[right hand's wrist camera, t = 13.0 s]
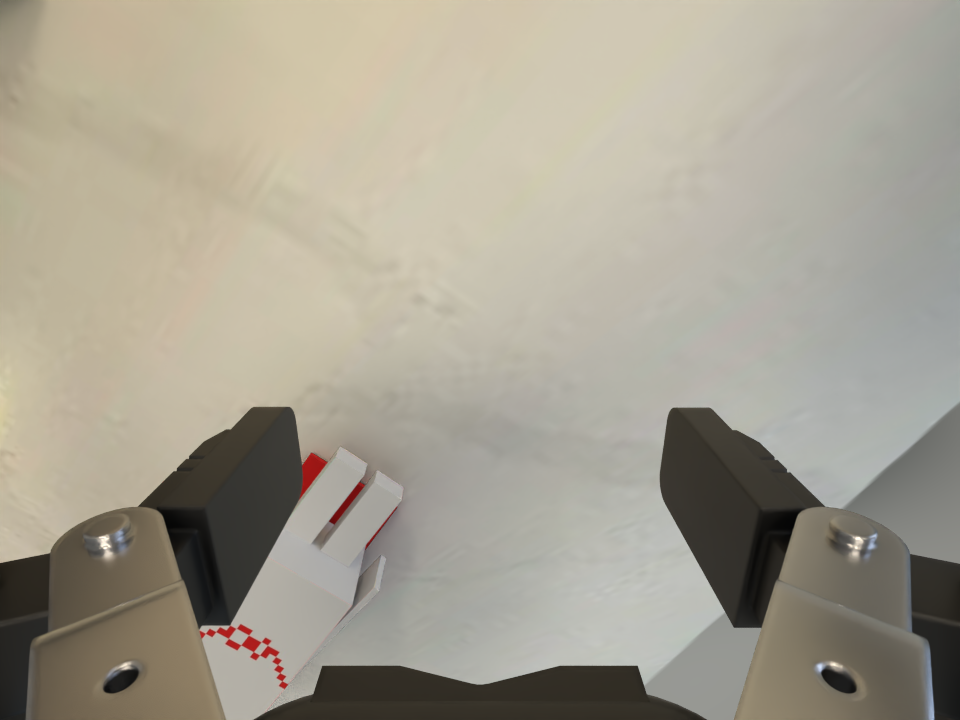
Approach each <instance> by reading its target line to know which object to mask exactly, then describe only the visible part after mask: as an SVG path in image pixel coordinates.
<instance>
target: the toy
mask: <svg viewBox="0 0 960 720" xmlns="http://www.w3.org/2000/svg"><path fill="white" fill-rule="evenodd" d="M366 468H367V463H366V462H364V461H363V460H361V459H360V458H358V457H357V456H355V455H353V454H352V453H350V452H349V451H347V450H346V449H344V448H343V447H341V446H340V447H339V449H338V450H337V451H336V452H335V454H334V455H333V456H332V458H331V459H330V460H329V462H326V461H324V460H323V459H321V458H320V457H318V456H316V455H315V454H313V453H311V454H310V455H309V457H308V458H307V460H306V461H305V462H304V464H303V465H302V470H303V485H302V491H301V495H300V498H299V501H298V503H297V505H296V506H295V508H294V510H293V512H292V514H291V516H290V517H289V519H288V521H287V523H286V525H285V527H284V528H283V530H282V532H281V534H280V536H279V537H278V539H277V541H276V543H275V545H274V547H273V548H272V550H271V552H270V554H269V556H268V558H267V559H266V561H265V563H264V565H263V567H262V568H261V570H260V572H259V574H258V576H257V578H256V579H255V581H254V583H253V585H252V587H251V589H250V590H249V592H248V594H247V596H246V598H245V599H244V601H243V603H242V605H241V607H240V609H239V610H238V612H237V614H236V616H235V618H234V620H233V621H232V623H231V625H230V626H201V628H200V630H199V632H200V635H201V638H202V642H203V645H204V648H205V652H206V655H207V658H208V661H209V665H210V668H211V671H212V675H213V678H214V681H215V684H216V688H217V691H218V694H219V698H220V701H221V704H222V708H223V711H224V714H225V717H226V720H253V719H255V718H257V717H259V716H260V715H262V714H264V713H265V712H266V711H267V710H268V709H269V707H270V706H271V705H272V704H273V703H274V701H275V700H276V699H277V698H278V696H279V695H280V694H281V693H282V691H283V690H284V689H285V688H286V687H287V685H288V684H289V683H290V682H291V680H292V679H293V678H294V677H295V676H296V675H297V674H298V673H299V672H300V671H301V670H302V669H303V668H304V667H305V666H306V665H307V664H308V663H309V662H310V661H311V660H312V659H313V658H314V657H315V656H316V655H317V654H318V653H319V652H320V651H321V650H322V649H323V648H324V647H325V646H326V645H327V644H328V643H329V642H330V641H331V640H332V639H333V638H334V637H335V636H336V635H337V634H338V633H339V632H340V631H341V630H342V629H343V628H344V627H345V626H346V625H347V624H348V623H349V622H350V621H351V619H352V618H353V617H354V616H355V615H356V614H357V613H358V612H359V611H360V610H361V609H362V608H363V607H364V606H365V605H366V604H367V603H368V602H369V601H370V600H371V599H372V598H373V597H374V596H375V595H376V594H377V593H378V592H379V590H380V585H381V580H382V575H383V571H384V566H385V561H386V558H385V557H384V556H382V555H381V556H380V557H379V558H378V559H377V560H376V561H375V562H374V563H373V564H372V565H371V566H370V567H369V568H368V569H367V570H366V571H365V572H364V573H363V574H362V575H361V576H360V577H359V573H360V569H361V564H362V560H363V556H364V551H365V550H366V548H367V547H368V546H369V544H370V543H371V542H372V540H373V539H374V538H375V536H376V535H377V534H378V532H379V531H380V530H381V528H382V527H383V526H384V524H385V523H386V522H387V520H388V519H389V518H390V516H391V515H392V514H393V512H394V511H395V510H396V508H397V505H398V504H399V503H400V502H401V500H402V496H403V488H404V487H403V486H401V485H399V484H398V483H396V482H395V481H393V480H392V479H390V478H389V477H387V476H386V475H384V474H383V473H381V472H380V471H378V470H377V471H376V472H375V474H374V475H373V476H372V477H371V479H370V480H369V481H368V483H367V484H366V485H364V484H362V483H360V482H359V481H360V480H361V479H362V478H363V476H364V474H365V471H366Z"/></svg>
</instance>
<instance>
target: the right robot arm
mask: <svg viewBox="0 0 960 720" xmlns="http://www.w3.org/2000/svg"><path fill="white" fill-rule="evenodd" d="M302 485H303V470H302V463H301V455H300V448H299V440H298V433H297V426H296V419H295V414H294V412H293V410H292V409H291V408H290V407H253V408H251V409H250V410H249V411H248V412H247V413H246V414H245V415H244V416H243V417H242V418H241V419H240V421H239V422H238V423H237V424H236V425H235V426H234V427H233V428H232V429H231V430H225V431H223V432H221V433H219V434H217V435H215V436H214V437H212V438H210V439H208V440H206V441H204V442H203V443H202V444H201V445H200V446H199V447H198V448H197V449H196V450H195V451H194V452H193V453H192V454H191V455H190V456H189V459H186V460H185V461H184V462H183V463H182V464H181V465H180V466H179V467H178V468H177V471H174V472H173V473H172V474H171V475H170V476H169V477H168V478H167V479H166V480H165V481H163V482H162V483H161V484H160V485H159V486H158V487H157V488H156V489H155V490H154V491H153V492H152V493H151V494H150V495H149V496H148V497H147V498H146V499H145V500H144V501H143V502H142V503H141V504H140V505H139V506H138V507H129V508H122V509H117V510H113V511H109V512H106V513H103V514H100V515H97V516H95V517H93V518H90V519H88V520H86V521H84V522H82V523H80V524H78V525H77V526H75V527H73V528H72V529H70V530H69V531H68V532H66V533H65V534H64V535H63V536H62V537H60V538H59V539H58V540H57V542H56V543H55V544H54V546H53V547H52V549H51V552H50V553H49V554H44V555H39V556H34V557H29V558H24V559H19V560H14V561H9V562H4V563H0V720H226V717H225V714H224V711H223V708H222V704H221V701H220V698H219V694H218V691H217V688H216V684H215V681H214V678H213V675H212V671H211V668H210V665H209V661H208V658H207V655H206V652H205V648H204V645H203V642H202V638H201V635H200V632H199V630H200V628H201V626H230V625H231V623H232V621H233V620H234V618H235V616H236V614H237V612H238V610H239V609H240V607H241V605H242V603H243V601H244V599H245V598H246V596H247V594H248V592H249V590H250V589H251V587H252V585H253V583H254V581H255V579H256V578H257V576H258V574H259V572H260V570H261V568H262V567H263V565H264V563H265V561H266V559H267V558H268V556H269V554H270V552H271V550H272V548H273V547H274V545H275V543H276V541H277V539H278V537H279V536H280V534H281V532H282V530H283V528H284V527H285V525H286V523H287V521H288V519H289V517H290V516H291V514H292V512H293V510H294V508H295V506H296V505H297V503H298V501H299V498H300V495H301V491H302ZM660 488H661V493H662V497H663V500H664V502H665V504H666V506H667V508H668V510H669V511H670V513H671V515H672V517H673V519H674V520H675V522H676V524H677V526H678V528H679V529H680V531H681V533H682V535H683V537H684V538H685V540H686V542H687V544H688V546H689V547H690V549H691V551H692V553H693V555H694V556H695V558H696V560H697V562H698V564H699V565H700V567H701V569H702V571H703V573H704V574H705V576H706V578H707V580H708V582H709V583H710V585H711V587H712V589H713V591H714V592H715V594H716V596H717V598H718V600H719V601H720V603H721V605H722V607H723V609H724V610H725V612H726V614H727V616H728V618H729V619H730V621H731V623H732V625H733V627H734V628H761V632H760V635H759V639H758V642H757V645H756V648H755V652H754V655H753V658H752V661H751V665H750V668H749V671H748V675H747V678H746V681H745V684H744V688H743V691H742V694H741V698H740V701H739V704H738V708H737V711H736V714H735V717H734V720H960V564H958V563H952V562H947V561H942V560H937V559H932V558H927V557H922V556H917V555H912V554H910V553H909V549H908V547H907V546H906V544H905V543H904V542H903V540H902V539H901V538H900V537H898V536H897V535H896V534H895V533H894V532H892V531H891V530H890V529H888V528H887V527H885V526H883V525H882V524H880V523H878V522H876V521H874V520H872V519H870V518H867V517H865V516H863V515H860V514H857V513H854V512H851V511H847V510H843V509H838V508H831V507H825V506H824V505H823V504H822V503H821V502H820V501H819V500H818V499H817V498H816V497H815V496H814V495H813V494H812V493H811V492H810V491H809V490H808V489H807V488H806V487H805V486H803V485H802V484H801V483H800V482H799V481H798V480H797V479H796V478H795V477H794V476H793V475H792V474H791V473H787V469H786V468H785V467H784V466H783V465H782V464H781V463H780V462H779V461H778V460H775V459H774V456H773V455H772V454H771V453H770V452H769V451H768V450H767V449H766V448H765V447H763V446H762V445H761V444H760V443H759V442H757V441H756V440H754V439H752V438H750V437H748V436H746V435H744V434H743V433H741V432H739V431H737V430H732V429H731V428H730V427H729V426H728V425H727V424H726V423H725V422H724V421H723V420H722V419H721V418H720V417H719V416H718V415H717V414H716V413H715V412H714V411H713V410H712V409H711V408H672V409H671V410H670V412H669V415H668V419H667V425H666V433H665V440H664V447H663V454H662V462H661V469H660ZM253 720H707V719H705V718H703V717H701V716H700V715H698V714H696V713H694V712H692V711H690V710H688V709H686V708H683V707H681V706H679V705H677V704H675V703H672V702H669V701H666V700H663V699H661V698H658V697H655V696H651V695H647V694H646V691H645V688H644V684H643V681H642V678H641V675H640V672H639V669H638V666H558V667H554V668H550V669H546V670H542V671H538V672H534V673H530V674H526V675H522V676H518V677H514V678H510V679H506V680H502V681H498V682H494V683H490V684H484V685H476V684H470V683H466V682H462V681H458V680H454V679H450V678H446V677H442V676H438V675H434V674H430V673H426V672H422V671H418V670H414V669H410V668H406V667H402V666H322V669H321V672H320V675H319V678H318V681H317V684H316V688H315V691H314V694H313V695H309V696H305V697H302V698H299V699H297V700H294V701H291V702H288V703H285V704H283V705H281V706H279V707H276V708H274V709H272V710H270V711H268V712H266V713H264V714H262V715H260V716H259V717H257V718H255V719H253Z"/></svg>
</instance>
